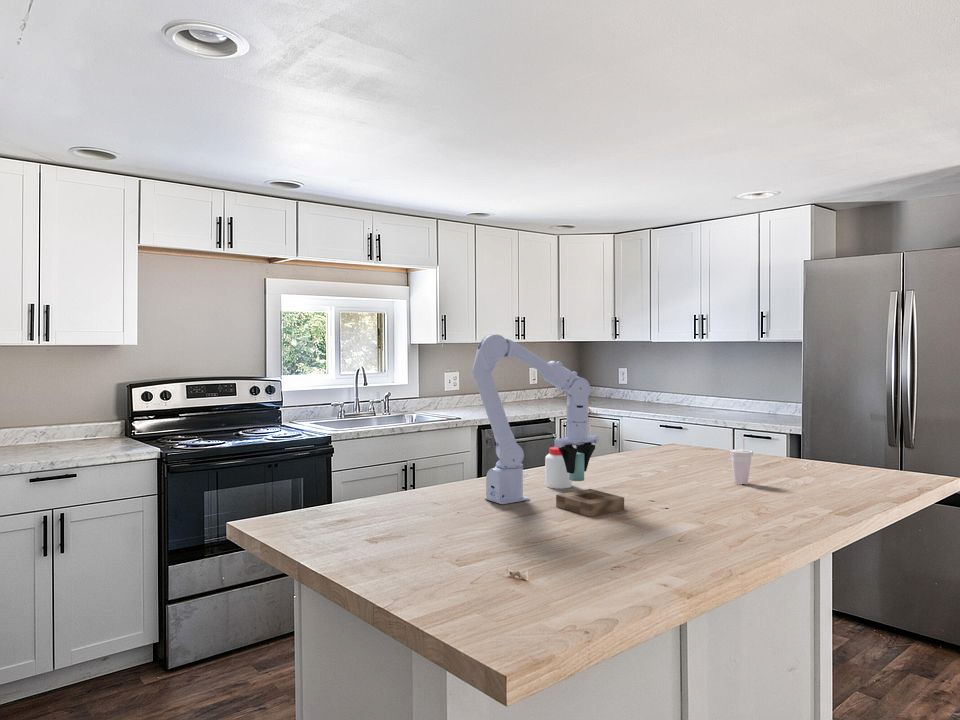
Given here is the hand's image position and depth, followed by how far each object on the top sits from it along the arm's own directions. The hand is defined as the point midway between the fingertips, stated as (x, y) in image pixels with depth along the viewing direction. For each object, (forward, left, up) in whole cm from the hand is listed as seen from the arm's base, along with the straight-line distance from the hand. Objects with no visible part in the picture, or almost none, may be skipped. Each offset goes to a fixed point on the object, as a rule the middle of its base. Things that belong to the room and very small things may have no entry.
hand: (576, 471), depth 180 cm
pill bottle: (+6, +14, -7) cm, 17 cm away
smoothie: (+52, -15, -7) cm, 55 cm away
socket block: (-5, -10, -7) cm, 13 cm away
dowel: (0, 0, -2) cm, 2 cm away
